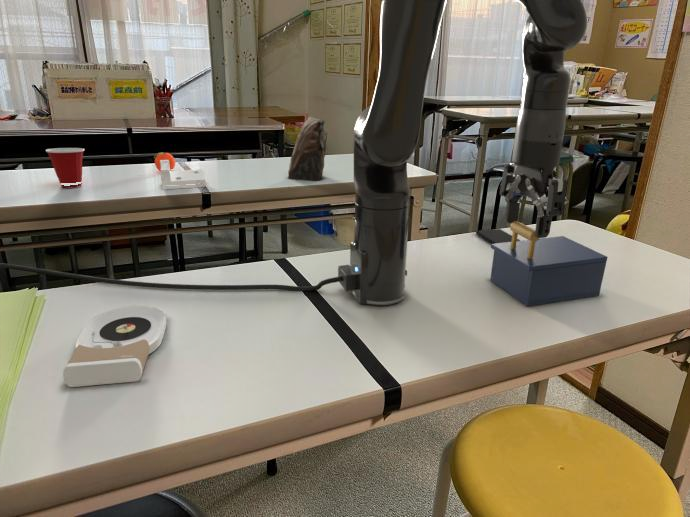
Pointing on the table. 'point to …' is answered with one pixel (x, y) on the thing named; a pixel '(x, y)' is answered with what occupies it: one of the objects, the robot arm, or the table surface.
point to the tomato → (164, 157)
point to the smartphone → (495, 236)
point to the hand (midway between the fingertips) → (525, 229)
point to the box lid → (544, 250)
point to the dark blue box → (547, 281)
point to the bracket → (180, 177)
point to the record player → (115, 346)
